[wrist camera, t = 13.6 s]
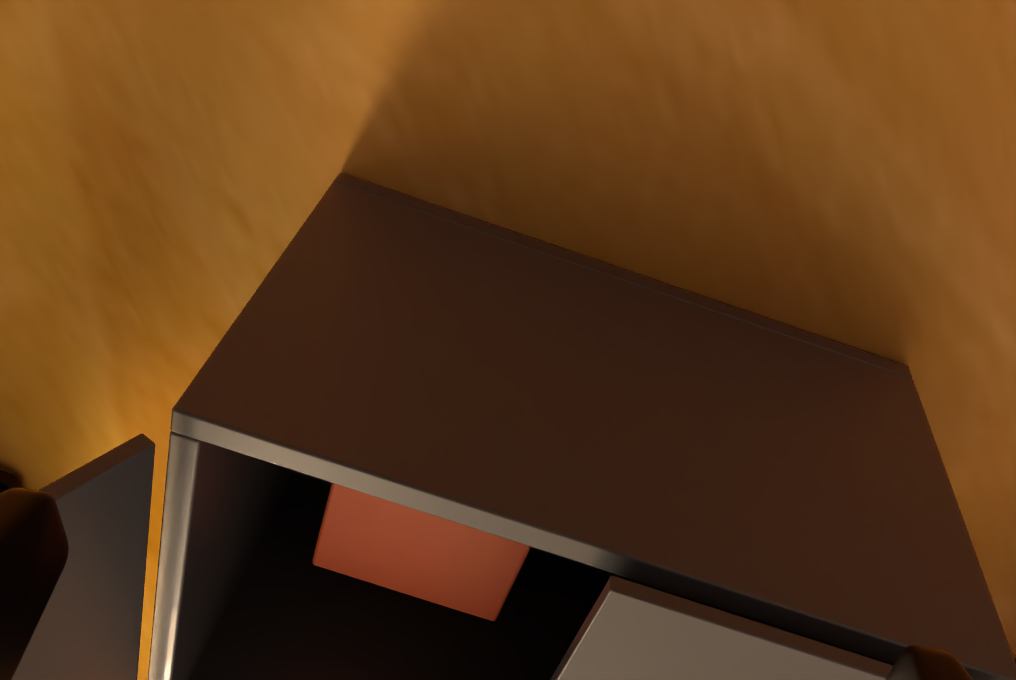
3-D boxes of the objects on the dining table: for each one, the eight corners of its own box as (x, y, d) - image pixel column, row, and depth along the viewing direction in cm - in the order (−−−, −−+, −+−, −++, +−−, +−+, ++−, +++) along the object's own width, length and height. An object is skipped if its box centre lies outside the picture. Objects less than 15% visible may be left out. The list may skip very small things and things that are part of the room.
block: (521, 487, 25) (495, 623, 21) (364, 437, 24) (310, 565, 21) (575, 366, 22) (556, 497, 18) (399, 307, 22) (344, 429, 18)
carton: (279, 467, 26) (125, 768, 19) (339, 171, 20) (149, 439, 13) (726, 611, 27) (748, 955, 19) (909, 365, 21) (1039, 724, 14)
